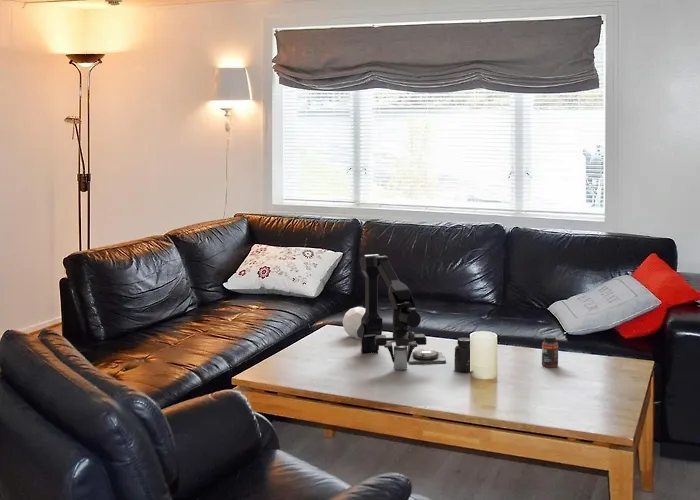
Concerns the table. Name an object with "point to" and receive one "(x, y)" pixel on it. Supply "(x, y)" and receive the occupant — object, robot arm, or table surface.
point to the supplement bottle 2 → (550, 352)
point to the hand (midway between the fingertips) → (400, 362)
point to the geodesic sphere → (353, 321)
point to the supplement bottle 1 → (462, 356)
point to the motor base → (426, 356)
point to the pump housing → (400, 357)
